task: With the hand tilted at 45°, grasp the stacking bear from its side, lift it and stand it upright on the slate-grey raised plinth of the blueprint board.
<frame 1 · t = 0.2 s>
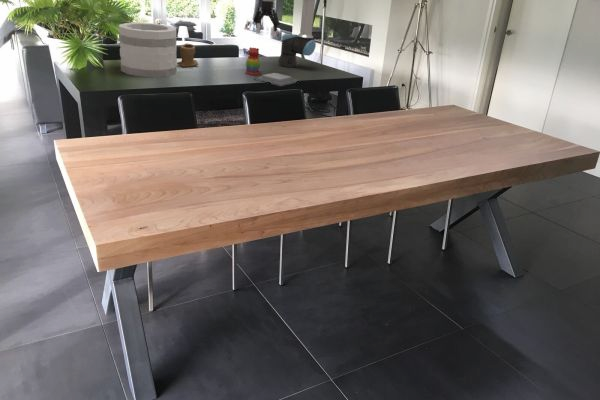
hand: (266, 34, 331), 28 cm above the table, tool pointing down, fingers open, 13 cm apart
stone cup: (188, 66, 350), on the table
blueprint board: (276, 80, 336), on the table
stacking bear: (252, 74, 348), on the table
storage basket: (149, 71, 325), on the table
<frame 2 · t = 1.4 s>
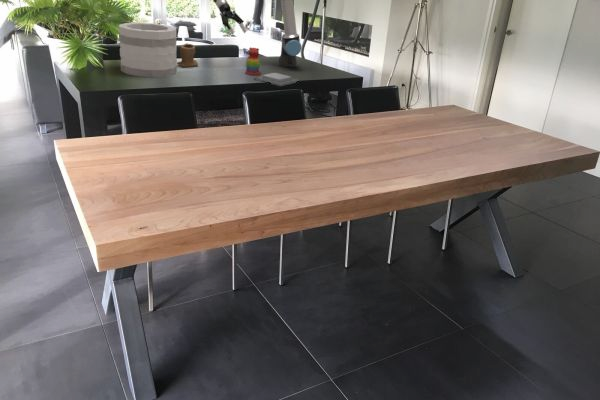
hand: (239, 32, 342), 26 cm above the table, tool tilted 45°, fingers open, 13 cm apart
nothing on the table moved.
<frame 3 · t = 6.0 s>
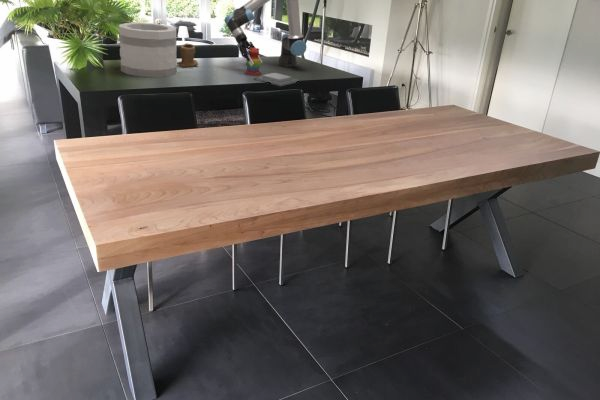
hand: (256, 64, 343), 7 cm above the table, tool tilted 45°, fingers closed on stacking bear, 9 cm apart
stacking bear: (252, 74, 348), on the table, touching gripper
everything else where it was.
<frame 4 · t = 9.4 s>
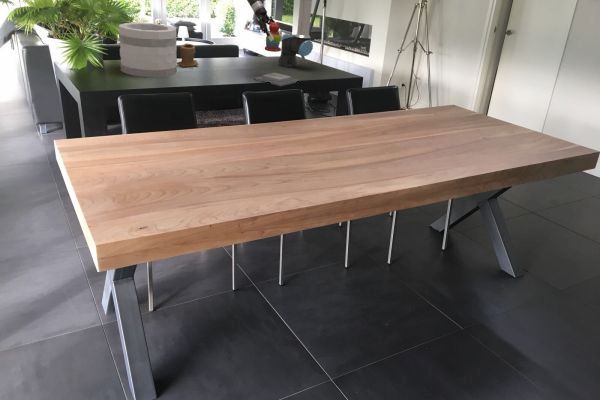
hand: (276, 39, 325), 26 cm above the table, tool tilted 45°, fingers closed on stacking bear, 9 cm apart
stacking bear: (272, 50, 330), point 19 cm above the table, touching gripper
everything else where it was.
when the fingers open (12 cm above the table, at t = 13.1 s): stacking bear drops 1 cm, resting on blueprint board.
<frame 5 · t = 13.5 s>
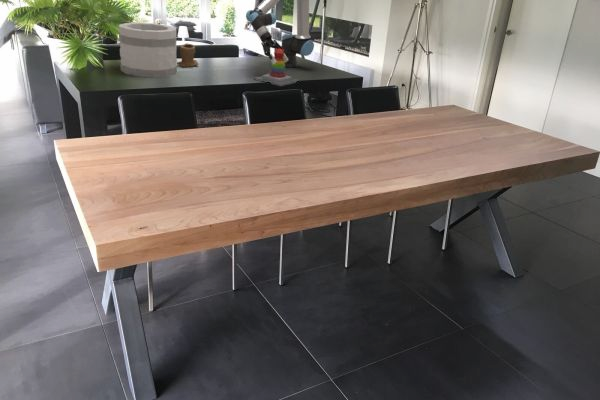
hand: (281, 62, 330), 13 cm above the table, tool tilted 45°, fingers open, 13 cm apart
stacking bear: (277, 76, 335), point 3 cm above the table, touching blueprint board
everything else where it was.
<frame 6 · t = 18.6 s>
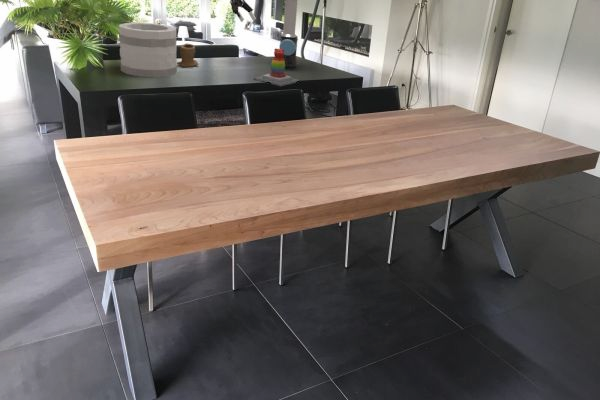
hand: (248, 20, 351), 33 cm above the table, tool tilted 45°, fingers open, 13 cm apart
nothing on the table moved.
at the end: stacking bear inside the target area on the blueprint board (0.3 cm from its centre), point 3.0 cm above the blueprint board's base; stacking bear tilted 0°; the gripper is holding nothing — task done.
